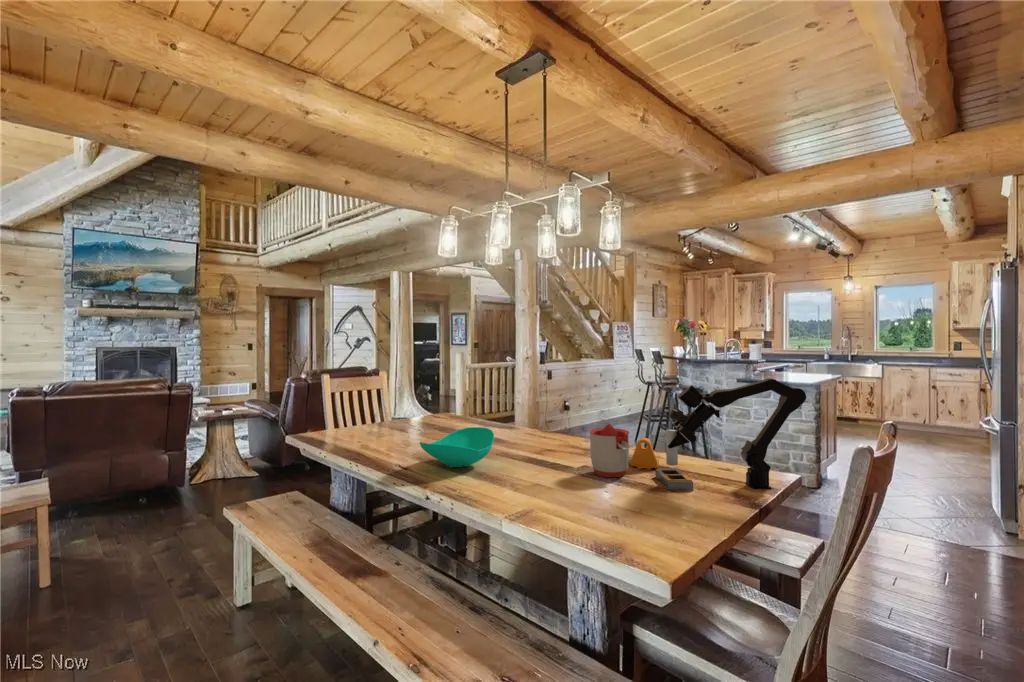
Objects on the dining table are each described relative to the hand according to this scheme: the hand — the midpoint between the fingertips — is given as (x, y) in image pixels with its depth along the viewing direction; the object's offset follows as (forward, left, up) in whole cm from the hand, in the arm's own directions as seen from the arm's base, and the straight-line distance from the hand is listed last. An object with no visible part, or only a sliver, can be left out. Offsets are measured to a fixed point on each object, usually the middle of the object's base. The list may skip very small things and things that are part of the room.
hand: (667, 446), depth 176 cm
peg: (-1, 0, -7) cm, 7 cm away
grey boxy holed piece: (-1, +1, -13) cm, 13 cm away
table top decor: (+82, -23, -14) cm, 87 cm away
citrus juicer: (+19, -10, -14) cm, 26 cm away
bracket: (+3, -22, -14) cm, 26 cm away
